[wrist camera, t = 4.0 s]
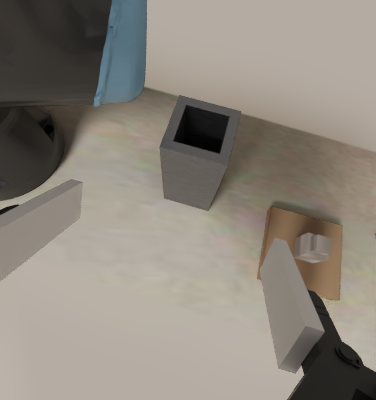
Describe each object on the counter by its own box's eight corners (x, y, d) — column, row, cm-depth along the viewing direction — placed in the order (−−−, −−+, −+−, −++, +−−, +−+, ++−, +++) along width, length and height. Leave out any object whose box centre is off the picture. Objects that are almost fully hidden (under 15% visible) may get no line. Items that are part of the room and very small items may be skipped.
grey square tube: (164, 198, 32) (159, 147, 20) (177, 160, 34) (179, 95, 23) (207, 210, 31) (227, 165, 20) (218, 171, 34) (241, 111, 22)
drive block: (255, 279, 29) (276, 275, 23) (266, 211, 32) (287, 193, 27) (328, 299, 29) (368, 301, 23) (332, 229, 32) (367, 215, 26)
